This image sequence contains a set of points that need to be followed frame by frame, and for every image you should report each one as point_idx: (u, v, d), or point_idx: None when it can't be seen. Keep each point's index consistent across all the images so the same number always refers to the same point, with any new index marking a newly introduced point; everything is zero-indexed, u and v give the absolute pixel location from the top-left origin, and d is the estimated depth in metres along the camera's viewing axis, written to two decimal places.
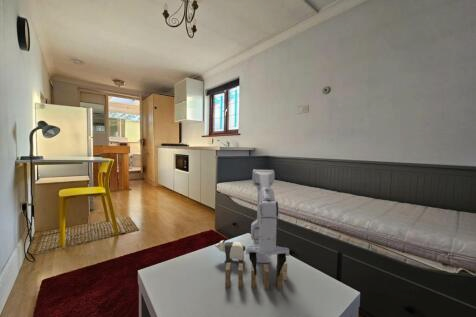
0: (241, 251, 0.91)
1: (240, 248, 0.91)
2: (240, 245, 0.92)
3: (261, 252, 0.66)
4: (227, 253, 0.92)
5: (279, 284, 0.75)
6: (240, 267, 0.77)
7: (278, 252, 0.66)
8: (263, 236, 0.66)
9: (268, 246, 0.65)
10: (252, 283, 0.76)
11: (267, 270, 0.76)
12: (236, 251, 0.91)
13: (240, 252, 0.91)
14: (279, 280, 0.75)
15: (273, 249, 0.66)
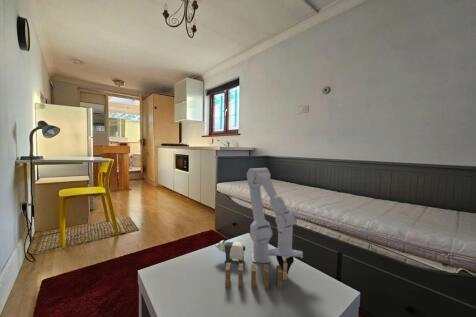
0: (241, 251, 0.91)
1: (240, 248, 0.91)
2: (240, 245, 0.92)
3: (280, 254, 0.80)
4: (227, 253, 0.92)
5: (279, 284, 0.75)
6: (240, 267, 0.77)
7: (294, 254, 0.81)
8: (286, 242, 0.80)
9: (286, 249, 0.80)
10: (252, 283, 0.76)
11: (267, 270, 0.76)
12: (236, 251, 0.91)
13: (240, 252, 0.91)
14: (279, 280, 0.75)
15: (290, 252, 0.80)
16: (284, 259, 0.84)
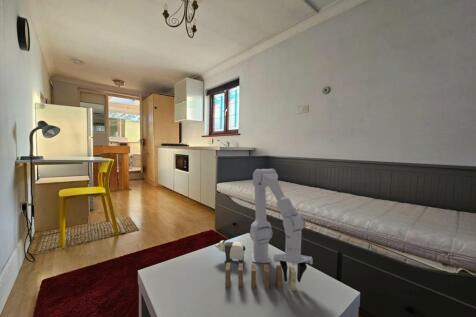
0: (241, 251, 0.91)
1: (240, 248, 0.91)
2: (240, 245, 0.92)
3: (288, 261, 0.74)
4: (227, 253, 0.92)
5: (279, 284, 0.75)
6: (240, 267, 0.77)
7: (303, 261, 0.75)
8: (294, 247, 0.74)
9: (294, 255, 0.74)
10: (252, 283, 0.76)
11: (267, 270, 0.76)
12: (236, 251, 0.91)
13: (240, 252, 0.91)
14: (279, 280, 0.75)
15: (299, 258, 0.74)
16: (292, 268, 0.77)
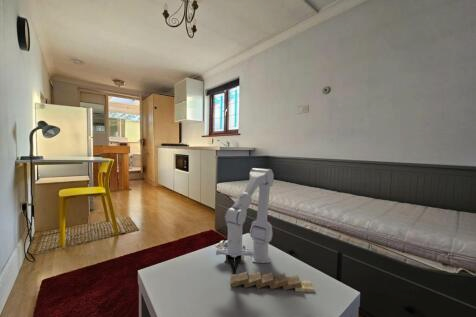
0: None
1: None
2: None
3: (228, 253, 0.75)
4: None
5: (288, 286, 0.75)
6: (261, 277, 0.77)
7: (243, 253, 0.76)
8: (228, 238, 0.76)
9: (234, 248, 0.75)
10: (261, 284, 0.76)
11: (287, 281, 0.76)
12: None
13: None
14: (292, 285, 0.75)
15: (239, 251, 0.75)
16: None
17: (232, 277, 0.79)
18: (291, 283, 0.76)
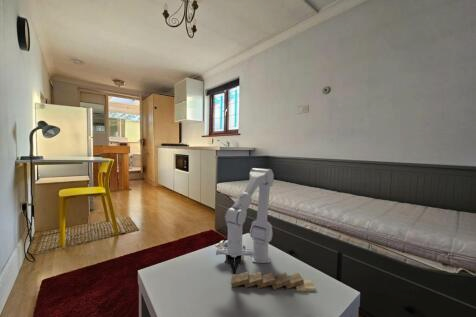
0: None
1: None
2: None
3: (228, 253, 0.75)
4: None
5: (291, 284, 0.76)
6: None
7: (243, 253, 0.76)
8: (228, 238, 0.76)
9: (234, 248, 0.75)
10: (262, 284, 0.76)
11: (289, 281, 0.76)
12: None
13: None
14: (295, 283, 0.76)
15: (239, 251, 0.75)
16: None
17: (233, 277, 0.79)
18: (294, 281, 0.77)
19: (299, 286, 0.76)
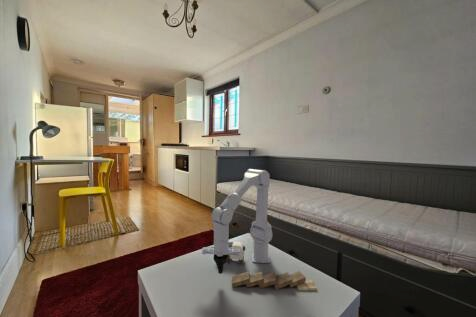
0: (241, 251, 0.91)
1: (240, 248, 0.91)
2: (240, 245, 0.92)
3: (214, 253, 0.76)
4: None
5: (295, 283, 0.77)
6: (263, 277, 0.78)
7: (229, 253, 0.76)
8: None
9: (220, 247, 0.75)
10: (263, 284, 0.76)
11: None
12: None
13: (240, 252, 0.91)
14: (298, 281, 0.77)
15: (225, 250, 0.76)
16: None
17: (233, 277, 0.79)
18: (297, 279, 0.78)
19: (300, 286, 0.76)
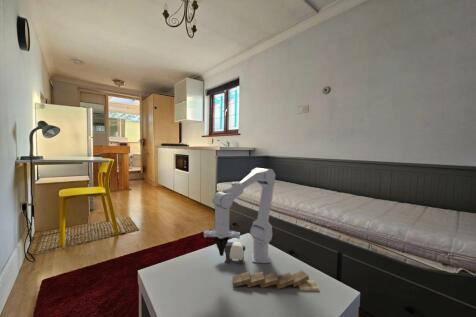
0: (241, 251, 0.91)
1: (240, 248, 0.91)
2: (240, 245, 0.92)
3: (215, 235, 0.78)
4: (227, 253, 0.92)
5: (298, 282, 0.77)
6: None
7: (230, 235, 0.79)
8: (215, 220, 0.80)
9: (221, 230, 0.78)
10: (265, 283, 0.76)
11: (293, 280, 0.77)
12: (236, 251, 0.91)
13: (240, 252, 0.91)
14: (301, 280, 0.77)
15: (225, 233, 0.78)
16: None
17: (234, 277, 0.79)
18: (300, 278, 0.78)
19: (302, 286, 0.76)
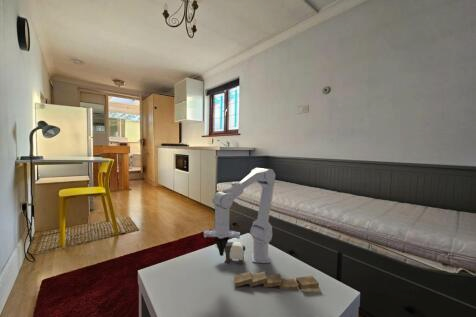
0: (241, 251, 0.91)
1: (240, 248, 0.91)
2: (240, 245, 0.92)
3: (215, 235, 0.78)
4: (227, 253, 0.92)
5: (307, 286, 0.75)
6: None
7: (230, 235, 0.79)
8: (215, 220, 0.80)
9: (221, 230, 0.78)
10: (268, 284, 0.76)
11: None
12: (236, 251, 0.91)
13: (240, 252, 0.91)
14: (310, 285, 0.75)
15: (225, 233, 0.78)
16: None
17: (235, 277, 0.80)
18: (309, 283, 0.76)
19: None
